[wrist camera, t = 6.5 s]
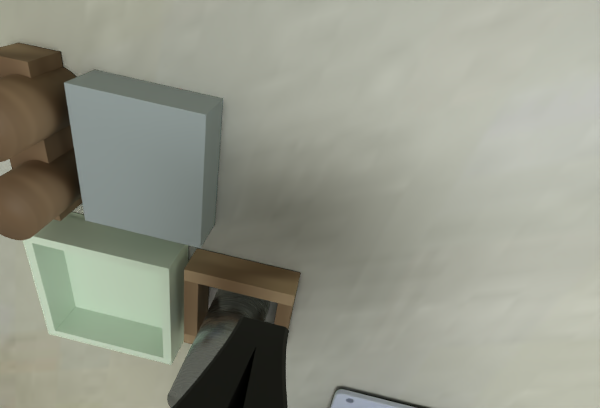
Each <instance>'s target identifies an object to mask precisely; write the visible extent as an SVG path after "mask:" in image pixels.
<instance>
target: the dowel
mask: <svg viewBox="0 0 600 408" xmlns="http://www.w3.org/2000/svg"><path fill="white" fill-rule="evenodd" d="M269 305H270V301H268V300H264V299H259V298H255V297H251V296H247V295H243V294H239V293H235V292H230V291H226V290H222V289H218V291H217V293H216V295H215V298H214V300H213V302H212V304H211V306H210V308H209V310H208V312H207V314H206V316H205V319H204V321H203V323H202V325H201V327H200V329H199V331H198V333H197V335H196V337H195V339H194V342H193V344H192V346H191V348H190V350H189V352H188V354H187V356H186V358H185V360H184V362H183V365H182V367H181V369H180V371H179V373H178V375H177V377H176V379H175V381H174V383H173V386H172V388H171V390H170V392H169V394H168V398H167V400H168V404H169V406H170V407H171V408H172V407H173V406H174V405H175V404H176V403H177V401H178V400H179V399H180V398H181V397H182V396H183V395H184V394H185V392H186V391H187V390H188V389H189V388H190V387H191V386H192V384H193V383H194V382H195V381H196V380H197V379H198V377H199V376H200V375H201V373H202V372H203V371H204V370H205V368H206V367H207V366H208V365H209V363H210V362H211V361H212V360H213V358H214V357H215V356H216V354H217V353H218V352H219V350H220V349H221V347H222V346H223V345H224V343H225V342H226V340H227V339H228V337H229V336H230V334H231V333H232V331H233V330H234V328H235V326H236V325H237V323H238V321H239V319H240V318H242V317H247V318H251V319H255V320H259V321H263V322H265V318H266V315H267V312H268V309H269Z"/></svg>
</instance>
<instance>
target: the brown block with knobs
mask: <svg viewBox="0 0 600 408" xmlns="http://www.w3.org/2000/svg"><path fill="white" fill-rule="evenodd" d="M74 78H76V76H75V75H74V74H73V73H71V72H70V71H69V70H67V69H66V68H64V67H63V65H62V58H61V52H59V51H54V50H50V49H45V48H40V47H35V46H31V45H26V44H21V43H16V44H12V45H8V46H4V47H0V162H2V161H6V160H8V159H10V162H11V166H12V170H10V171H9V172H7V173H5V174H3V175H2V176H0V234H1V235H3V236H5V237H8V238H11V239H15V240H27V239H30V238H31V237H33V236H34V235H35V234H36V233H38V232H39V231H40V230H41V229H42V228H44V227H45V226H46V225H47V224H49V223H50V222H51V221H52V220H53V219H54V220H58V221H61V220H62V219H64V218H65V217H66V216H67V215H68V214H70V213H71V212H72V211H73V210H74V209H75V208H77V207H78V206H79V205H80V204H81V203H82V197H81V190H80V184H79V177H78V171H77V164H76V158H75V151H74V145H73V138H72V132H71V125H70V119H69V112H68V106H67V100H66V93H65V87H64V82H66V81H69V80H71V79H74Z"/></svg>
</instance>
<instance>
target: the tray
mask: <svg viewBox="0 0 600 408" xmlns="http://www.w3.org/2000/svg"><path fill="white" fill-rule="evenodd" d="M23 243H24V246H25V250H26V254H27V257H28V261H29V264H30V268H31V271H32V275H33V279H34V282H35V286H36V289H37V293H38V297H39V300H40V304H41V307H42V311H43V314H44V318H45V322H46V325H47V329H48V332H49V334H51V335H55V336H59V337H63V338H67V339H71V340H75V341H79V342H83V343H87V344H91V345H95V346H99V347H103V348H107V349H111V350H114V351H118V352H122V353H126V354H130V355H134V356H138V357H142V358H146V359H150V360H154V361H158V362H162V363H166V364H170V365H172V363H173V361H174V359H175V357H176V355H177V353H178V351H179V349H180V347H181V345H182V343H183V341H184V268H185V267H186V265H187V264H188V245H185V244H181V243H176V242H172V241H168V240H164V239H160V238H156V237H152V236H148V235H143V234H139V233H135V232H131V231H127V230H123V229H119V228H115V227H110V226H106V225H102V224H98V223H94V222H90V221H86V220H85V216H84V215H82V214H78V213H74V212H71V213H70V214H68V215H67V216H66V217H65V218H64V219H62V220H61V221H58V220H54V219H53V220H52V221H51V222H50V223H49V224H47V225H46V226H45V227H44V228H42V229H41V230H40V231H39V232H38V233H36V234H35V235H34V236H33V237H31V238H30V239H27V240H23Z"/></svg>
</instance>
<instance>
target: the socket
mask: <svg viewBox="0 0 600 408" xmlns="http://www.w3.org/2000/svg"><path fill="white" fill-rule="evenodd" d="M299 277H300V273H299V272H295V271H290V270H286V269H282V268H278V267H274V266H269V265H265V264H261V263H257V262H252V261H248V260H244V259H240V258H235V257H231V256H227V255H223V254H219V253H214V252H210V251H206V250H202V249H196V251H195V252H194V254H193V256H192V257H191V259H190V260H189V262H188V264H187V265H186V267H185V268H184V342H186V343H190V344H193V342H194V339H195V337H196V335H197V333H198V331H199V329H200V327H201V325H202V323H203V321H204V319H205V316H206V314H207V312H208V294H209V286H210V287H214V288H218V289H222V290H226V291H230V292H235V293H239V294H243V295H247V296H251V297H255V298H259V299H264V300H268V301H272V302H276V303H278V305H277V310H276V316H275V321H274V324H276V325H280V326H284V327H286V328H287V329H289V324H290V319H291V315H292V310H293V305H294V301H295V296H296V291H297V287H298V282H299Z"/></svg>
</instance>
